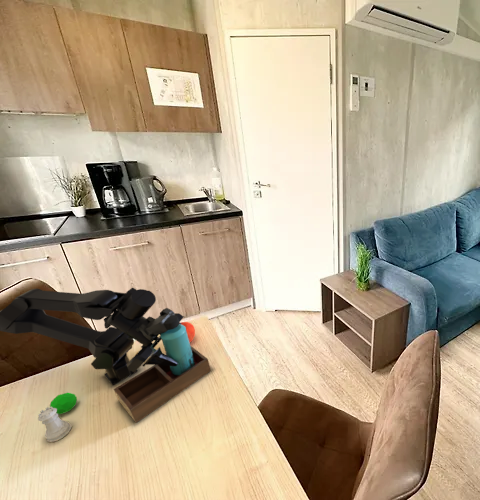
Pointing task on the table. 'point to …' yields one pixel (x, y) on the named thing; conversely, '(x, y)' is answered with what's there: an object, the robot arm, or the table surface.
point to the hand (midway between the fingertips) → (183, 356)
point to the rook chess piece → (53, 424)
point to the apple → (189, 330)
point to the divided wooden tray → (158, 386)
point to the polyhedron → (64, 402)
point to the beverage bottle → (177, 345)
